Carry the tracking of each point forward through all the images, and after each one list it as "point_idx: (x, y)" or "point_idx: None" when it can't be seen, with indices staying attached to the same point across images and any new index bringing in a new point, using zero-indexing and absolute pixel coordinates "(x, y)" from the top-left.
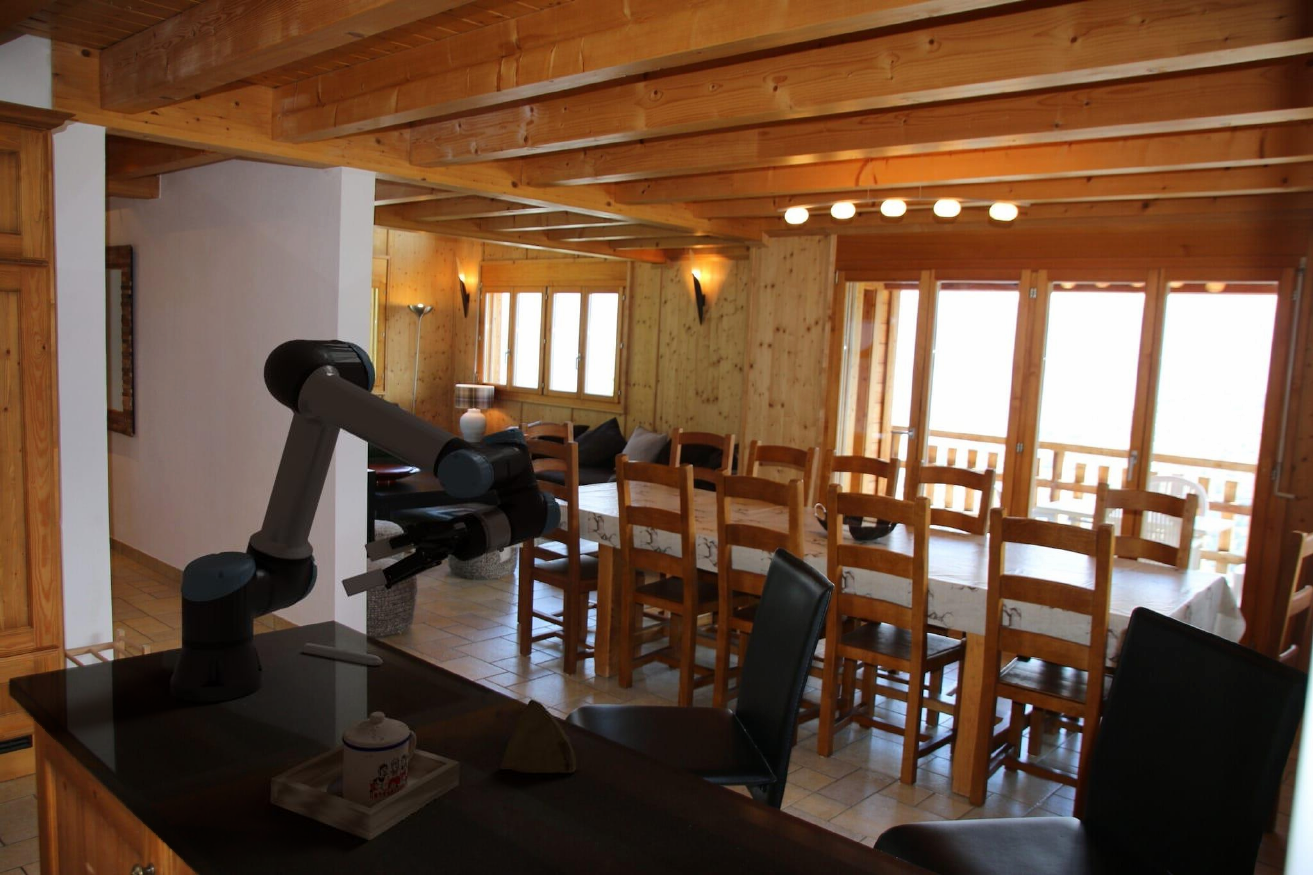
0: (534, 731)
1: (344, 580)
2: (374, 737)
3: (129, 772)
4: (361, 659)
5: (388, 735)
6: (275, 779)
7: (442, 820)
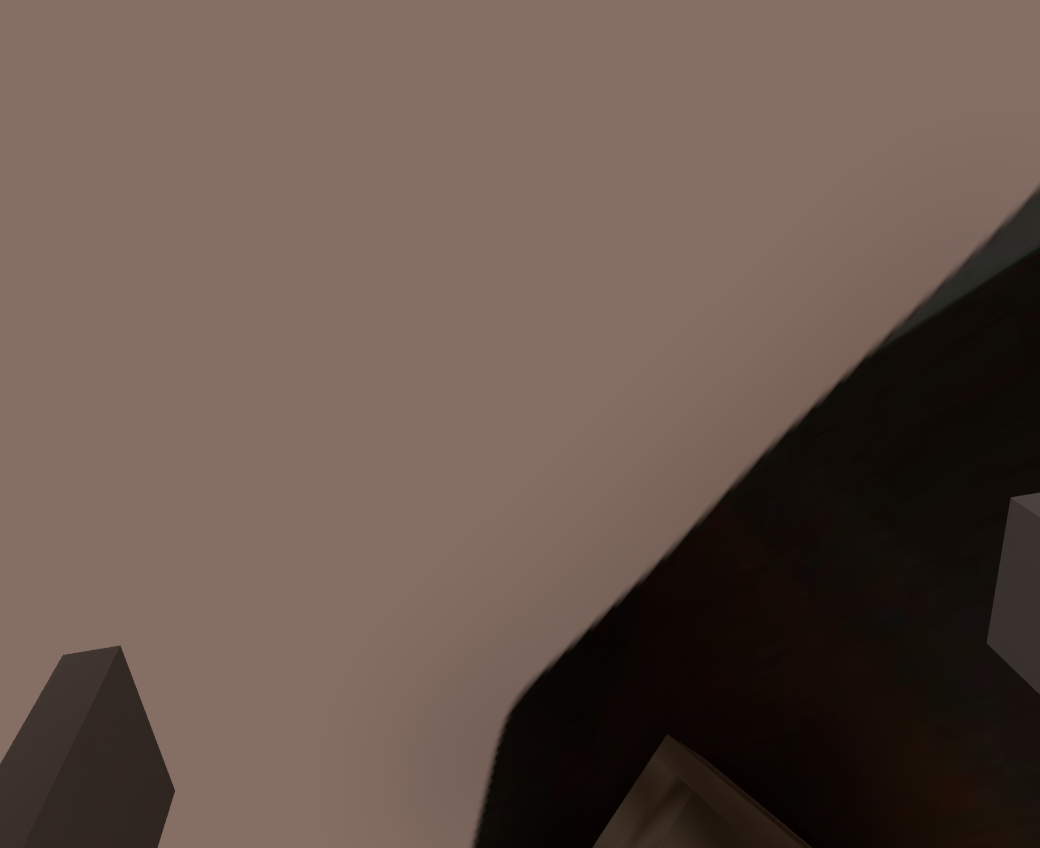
0: None
1: (1022, 515)
2: None
3: (871, 378)
4: None
5: None
6: (661, 747)
7: None
